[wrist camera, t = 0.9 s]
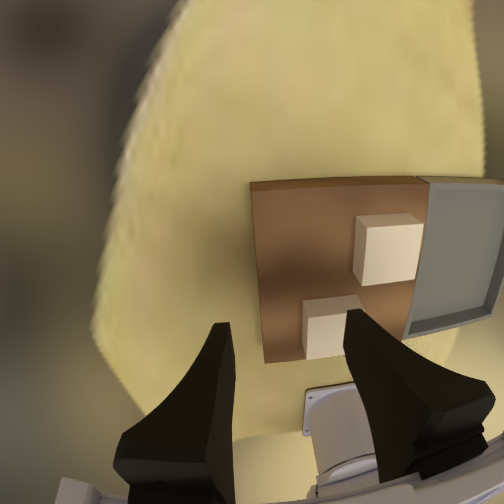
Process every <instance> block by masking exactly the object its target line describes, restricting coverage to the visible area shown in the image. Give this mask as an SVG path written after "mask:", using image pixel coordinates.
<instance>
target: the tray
mask: <svg viewBox="0 0 504 504" xmlns="http://www.w3.org/2000/svg"><path fill="white" fill-rule="evenodd" d="M416 178H418V179H420V180H422V181H424V182H426V183H428V184H430V185H429V196H428V206H427V214H426V223H425V230H424V237H423V244H422V250H421V256H420V262H419V267H418V272H417V278H416V283H415V287H414V292H413V297H412V301H411V305H410V310H409V314H408V318H407V322H406V326H405V330H404V333H403V337H402V340H405V339H409V338H414V337H419V336H423V335H427V334H432V333H436V332H440V331H444V330H448V329H452V328H456V327H460V326H463V325H467V324H471V323H474V322H478V321H481V320H485V319H488V318H491V317H493V314H494V311H495V308H496V306H497V303H498V300H499V297H500V295H501V292H502V288H503V286H504V179H491V178H473V177H444V176H416Z"/></svg>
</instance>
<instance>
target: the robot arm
mask: <svg viewBox="0 0 504 504" xmlns="http://www.w3.org/2000/svg"><path fill="white" fill-rule="evenodd" d="M343 349H344V353H345V357H346V361H347V365H348V367H349V370H350V372H351V375H352V377H353V380H354V382H355V383H349V384H344V385H338V386H331V387H325V388H318V389H311V390H308V391H307V392H306V396H305V409H304V421H303V432H302V433H303V436H311V437H312V442H313V448H314V453H315V459H316V464H317V469H318V473H319V475H318V476H316V479H317V484H316V485H313V486H311V488H310V490H309V492H308V493H307V499H305V500H297V501H289V502H279V503H268V504H482V503H484V502H485V501H487V500H489V499H491V498H492V497H494V496H496V495H497V494H498V493H500V492H502V491H503V490H504V431H503V433H502V434H501V435H499V436H497V437H495V438H493V439H492V440H490V441H488V442H486V440H485V438H484V436H483V435H482V433H483V432H484V427H483V425H482V422H483V421H484V419H485V418H486V416H487V415H488V414H489V412H490V411H491V410H492V408H493V406H494V403H495V400H496V399H495V396H494V394H493V393H492V391H491V389H490V388H489V386H488V385H487V384H486V382H485V381H482V380H478V379H474V378H470V377H467V376H464V375H461V374H459V373H456V372H453V371H451V370H448V369H446V368H444V367H442V366H440V365H437V364H435V363H433V362H431V361H430V360H428V359H426V358H424V357H423V356H421V355H419V354H418V353H416V352H414V351H413V350H411V349H410V348H408V347H407V346H406V345H404V344H403V343H401V342H400V341H399V340H397V339H396V338H395V337H393V336H392V335H391V334H390V333H389V332H387V331H386V330H385V329H384V328H383V327H381V326H380V325H379V324H378V323H377V322H376V321H374V320H373V319H372V318H371V317H370V316H369V315H368V314H366V313H365V312H364V311H363V310H362V309H361V308H359V309H352V310H347V315H346V323H345V331H344V338H343ZM235 380H236V372H235V354H234V348H233V341H232V335H231V329H230V322H224V323H215V324H214V325H213V326H212V328H211V331H210V333H209V335H208V337H207V339H206V341H205V343H204V345H203V347H202V349H201V351H200V353H199V354H198V356H197V358H196V360H195V361H194V363H193V364H192V366H191V367H190V369H189V370H188V372H187V373H186V375H185V376H184V377H183V379H182V380H181V381H180V383H179V384H178V385H177V386H176V387H175V389H174V390H173V391H172V392H171V393H170V394H169V395H168V396H167V397H166V399H165V400H164V401H163V402H162V403H161V404H160V405H159V406H157V407H156V408H155V409H154V410H153V411H152V412H151V413H149V414H148V415H147V416H146V417H145V418H144V419H143V420H141V421H140V422H138V423H137V424H136V425H134V426H133V427H131V428H130V429H128V430H127V431H125V432H124V433H122V436H121V439H120V441H119V443H118V446H117V450H116V454H115V458H114V462H113V468H114V469H115V471H116V472H117V473H118V474H119V475H120V476H121V477H122V478H123V479H124V480H125V481H126V482H127V483H128V484H129V485H130V490H129V496H128V497H122V496H117V495H111V494H106V493H102V492H100V491H99V490H98V489H97V488H96V487H94V486H92V485H90V484H88V483H85V482H81V481H77V480H74V479H70V478H66V477H63V478H62V480H61V484H60V487H59V491H58V494H57V498H56V501H55V504H236V503H235V489H234V473H233V452H232V416H233V404H234V392H235Z"/></svg>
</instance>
